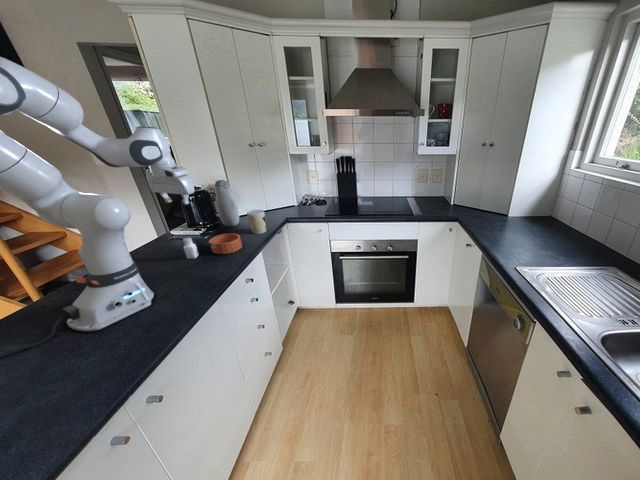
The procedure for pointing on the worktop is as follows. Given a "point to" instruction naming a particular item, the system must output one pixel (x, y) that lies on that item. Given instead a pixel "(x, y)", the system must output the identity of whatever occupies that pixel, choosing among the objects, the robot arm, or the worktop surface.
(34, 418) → the worktop surface
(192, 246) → the pepper shaker
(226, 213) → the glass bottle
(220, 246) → the bowl
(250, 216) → the coffee cup
